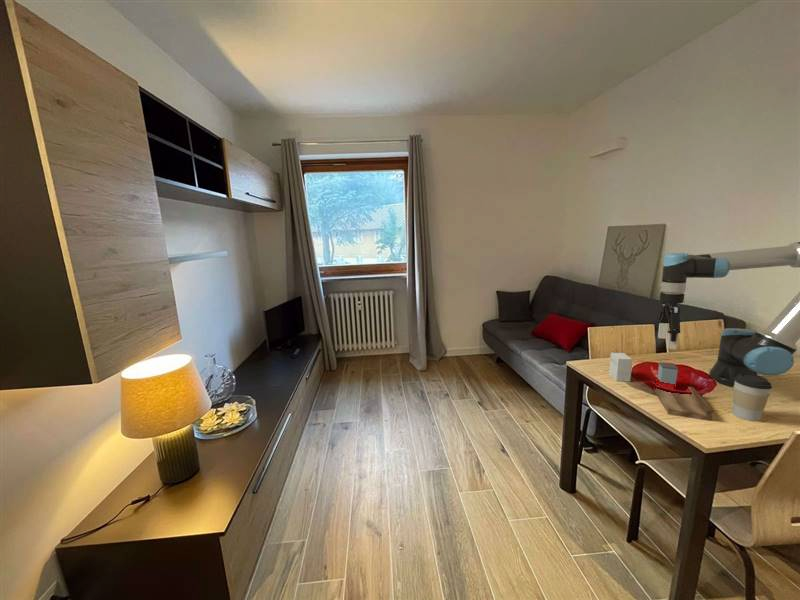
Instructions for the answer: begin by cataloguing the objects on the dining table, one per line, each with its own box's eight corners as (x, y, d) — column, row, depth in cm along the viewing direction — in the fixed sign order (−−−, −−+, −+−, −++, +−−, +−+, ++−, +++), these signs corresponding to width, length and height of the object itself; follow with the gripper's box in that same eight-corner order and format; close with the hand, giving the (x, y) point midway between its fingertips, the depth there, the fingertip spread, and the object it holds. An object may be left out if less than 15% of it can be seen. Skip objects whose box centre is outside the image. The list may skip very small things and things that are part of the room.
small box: (630, 382, 144) (632, 359, 142) (615, 381, 145) (618, 358, 143) (622, 374, 151) (624, 352, 149) (608, 373, 153) (610, 352, 150)
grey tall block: (670, 385, 140) (674, 363, 138) (674, 390, 136) (677, 368, 134) (653, 382, 143) (656, 361, 141) (656, 387, 138) (659, 366, 136)
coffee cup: (763, 415, 116) (771, 375, 113) (766, 426, 110) (775, 384, 107) (727, 406, 122) (734, 368, 119) (728, 417, 116) (736, 377, 113)
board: (691, 396, 131) (693, 387, 130) (711, 421, 114) (713, 411, 113) (654, 390, 136) (655, 382, 135) (668, 414, 119) (669, 404, 118)
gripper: (653, 287, 144) (648, 333, 148) (669, 298, 122) (663, 352, 127) (674, 287, 141) (669, 335, 145) (695, 298, 119) (688, 354, 123)
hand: (666, 343), depth 136 cm, fingers open, 13 cm apart
